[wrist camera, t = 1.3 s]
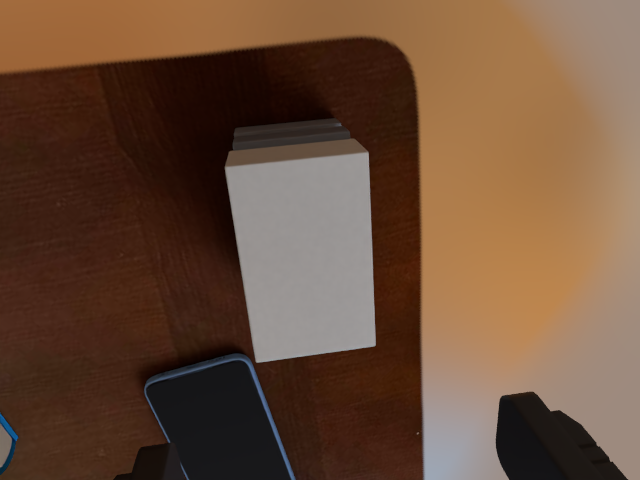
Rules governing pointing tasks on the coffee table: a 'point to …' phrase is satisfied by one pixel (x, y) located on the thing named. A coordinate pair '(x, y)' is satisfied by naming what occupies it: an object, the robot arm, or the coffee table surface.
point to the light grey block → (304, 246)
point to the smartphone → (219, 421)
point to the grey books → (289, 134)
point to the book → (6, 444)
